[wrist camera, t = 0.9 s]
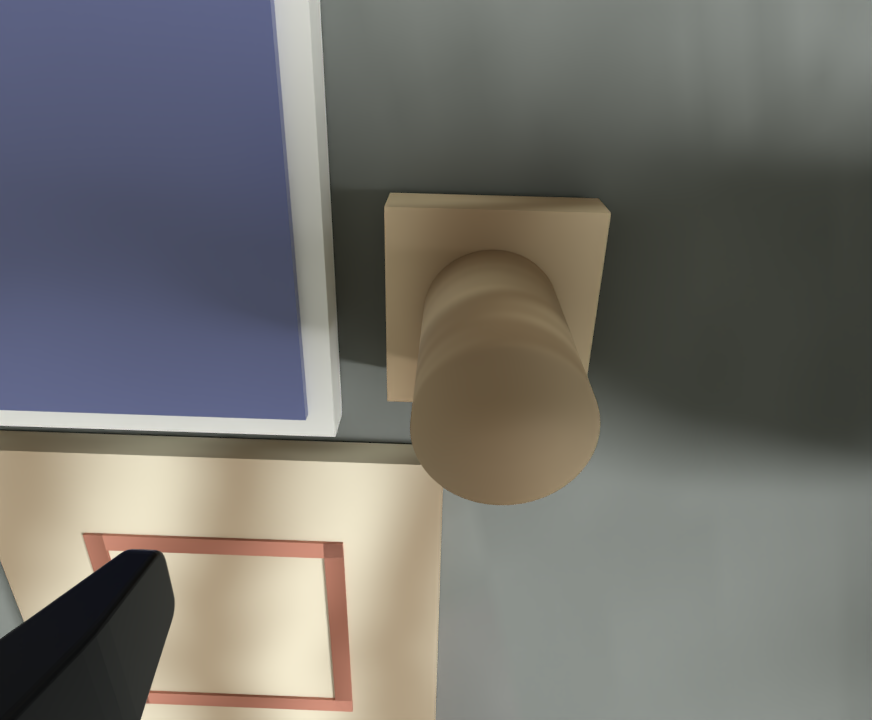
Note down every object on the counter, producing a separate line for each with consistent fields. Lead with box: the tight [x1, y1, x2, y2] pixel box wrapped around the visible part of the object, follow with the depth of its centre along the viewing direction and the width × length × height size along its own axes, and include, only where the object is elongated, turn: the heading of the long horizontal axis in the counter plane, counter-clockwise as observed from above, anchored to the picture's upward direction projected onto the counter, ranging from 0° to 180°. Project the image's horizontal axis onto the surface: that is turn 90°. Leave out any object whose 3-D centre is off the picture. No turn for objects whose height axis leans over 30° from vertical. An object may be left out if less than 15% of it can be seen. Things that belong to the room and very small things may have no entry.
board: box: [0, 431, 443, 720], centre depth 22 cm, size 14×14×1 cm
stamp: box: [384, 193, 611, 505], centre depth 14 cm, size 5×5×7 cm
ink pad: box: [0, 0, 342, 437], centre depth 15 cm, size 10×12×2 cm
